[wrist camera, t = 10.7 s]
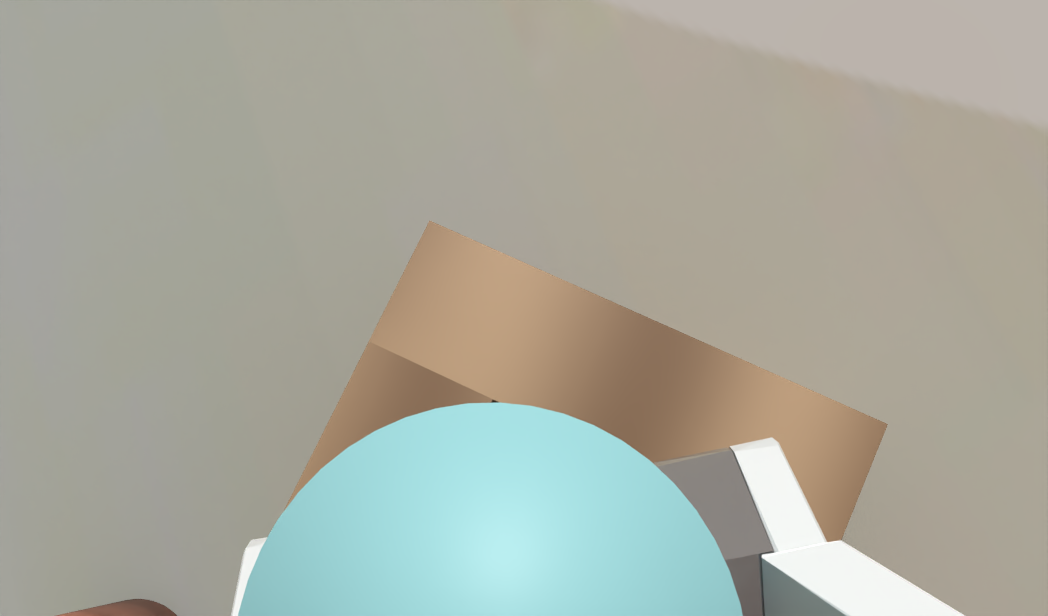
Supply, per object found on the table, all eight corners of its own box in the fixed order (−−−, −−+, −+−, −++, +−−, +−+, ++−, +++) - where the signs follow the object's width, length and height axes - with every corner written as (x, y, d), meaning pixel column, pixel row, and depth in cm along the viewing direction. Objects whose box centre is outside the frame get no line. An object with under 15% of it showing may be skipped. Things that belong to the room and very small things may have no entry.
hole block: (278, 641, 23) (199, 678, 18) (457, 275, 25) (429, 220, 20) (658, 838, 22) (682, 935, 17) (822, 440, 24) (887, 424, 19)
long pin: (445, 590, 18) (139, 792, 6) (513, 445, 19) (373, 324, 6) (590, 662, 18) (619, 1057, 5) (655, 512, 18) (830, 533, 6)
